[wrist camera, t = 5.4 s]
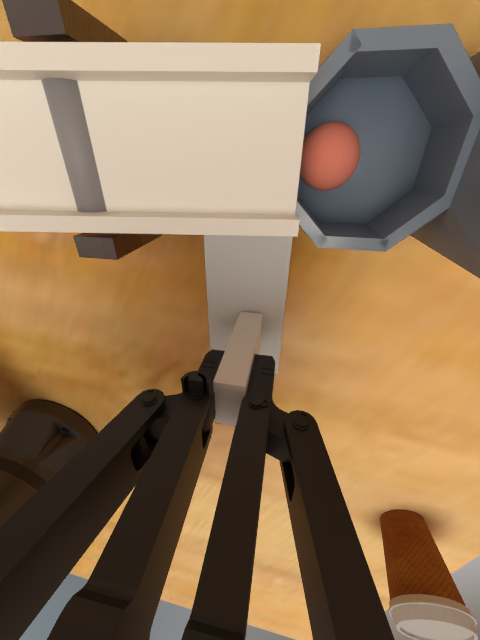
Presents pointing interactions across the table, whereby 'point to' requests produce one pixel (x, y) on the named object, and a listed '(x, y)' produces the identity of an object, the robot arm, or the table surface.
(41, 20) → the trough stand
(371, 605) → the robot arm
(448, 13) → the table surface
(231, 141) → the lever
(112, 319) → the table surface
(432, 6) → the table surface
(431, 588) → the disposable coffee cup
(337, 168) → the rubber ball
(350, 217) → the cup
